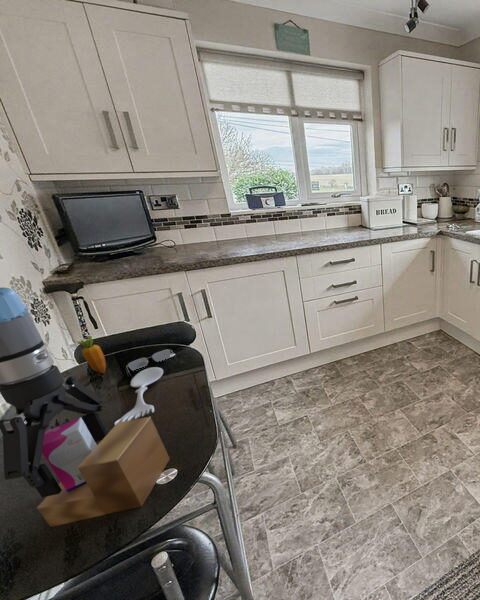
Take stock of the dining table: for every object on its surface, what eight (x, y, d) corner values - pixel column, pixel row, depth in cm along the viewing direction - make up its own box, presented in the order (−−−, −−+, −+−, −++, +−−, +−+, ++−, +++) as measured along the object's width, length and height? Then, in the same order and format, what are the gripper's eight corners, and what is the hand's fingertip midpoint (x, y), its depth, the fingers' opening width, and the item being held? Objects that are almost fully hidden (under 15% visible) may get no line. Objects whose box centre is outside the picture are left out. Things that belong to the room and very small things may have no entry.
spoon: (117, 434, 86) (111, 423, 84) (135, 379, 112) (131, 370, 111) (157, 419, 90) (153, 409, 89) (165, 369, 116) (162, 361, 115)
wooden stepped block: (50, 527, 62) (17, 479, 58) (93, 475, 73) (68, 432, 69) (141, 506, 64) (116, 459, 60) (170, 459, 75) (150, 416, 71)
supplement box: (105, 458, 70) (82, 415, 66) (104, 475, 66) (79, 430, 62) (69, 474, 67) (42, 430, 63) (66, 493, 63) (36, 447, 59)
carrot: (93, 380, 114) (73, 342, 109) (95, 374, 118) (76, 337, 113) (111, 374, 117) (93, 337, 111) (112, 369, 121) (95, 332, 115)
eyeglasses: (173, 356, 125) (170, 347, 124) (179, 364, 120) (176, 355, 118) (129, 373, 116) (124, 363, 115) (133, 382, 111) (128, 372, 109)
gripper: (-20, 416, 47) (50, 518, 54) (97, 339, 70) (135, 418, 77) (-81, 426, 46) (-2, 529, 53) (58, 345, 69) (100, 425, 76)
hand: (79, 464), depth 65 cm, fingers open, 13 cm apart
